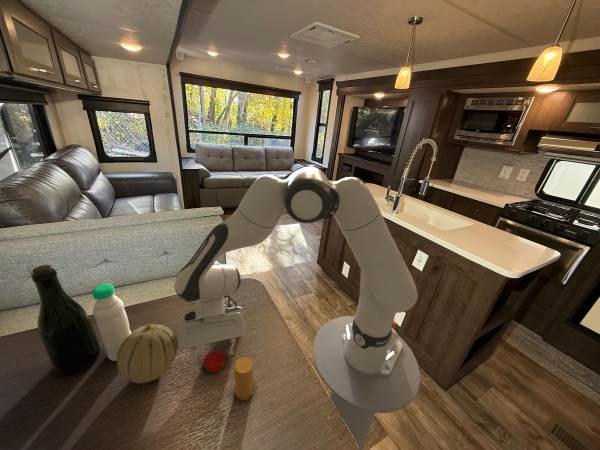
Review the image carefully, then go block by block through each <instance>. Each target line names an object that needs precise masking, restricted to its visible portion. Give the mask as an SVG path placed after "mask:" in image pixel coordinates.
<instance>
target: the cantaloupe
mask: <svg viewBox="0 0 600 450" xmlns="http://www.w3.org/2000/svg"><path fill="white" fill-rule="evenodd" d="M178 350H179V349H178V348H177V335H176V334H175V333H174V332H173V331H172V329H170V327H168V326H166V325H162V324H155V323H153V324H149V323H146V324H145V325H143V326H139V327H138V328H136V329H134V330H133V331H131V334H130V335H129V336H128V337H126V339H125V340H124V341H123V342H122V344H121V346H120V347H119V350H118V353H117V358H116V359H117V361H116V366H117V369H118V372H119V374H120V375H121V376H122V378H123V379H124V380H127V381H130V382H132V383H135V384H145V383H146V384H147V383H149V382H152V381H154V380H157V379H158V378H160V377H161V376H163V374H165V373H166V372H167V371H168V370H169V369H170V368H171V366H172V365H173V363H174V361H175V359H176V356H177V353H178Z"/></svg>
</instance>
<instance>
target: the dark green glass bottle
mask: <svg viewBox="0 0 600 450" xmlns="http://www.w3.org/2000/svg"><path fill="white" fill-rule="evenodd" d="M31 272H32V274H31V281H32V282H33V284H34V285H35V288H36V291H37V293H38V297H39V312H38V317H37V322H36V323H37V324H36V325H37V331H38V334H39V337H40V340H41V343H42V345H43V347H44V350H45V352H46V355H47V357H48V360H49V362H50V363H51V365H52V367H53V370H54V371H55V372H56V374H57V375H59V376H67V377H68V376H73V375H77V374H79V373H81V372H83V371H85V370H87V369H88V368H90V367H91V366H92V365H94V364H95V363H96V361H97V360H98V359H99V357H100V355H101V352H102V348H101V346H100V343H99V339H98V337H97V334H96V332H95V329H94V327H93V325H92V324H93V323H92V322H91V319H90V317H89V315H88V313H87V311H86V309H85V308H84V307H83V305H81V304H80V303H79V302H77V301H76V300H75V299H74V298H72V297H71V296H70V295H69V294H68V293H67V291H66V290H65V289H64V287H63V285H62V283H61V281H60V279H59V276H58V272H57V270H56V269H55V268H53V267H52V266H51V264H43V265H38V266H36V267H34V268H33V269H32V270H31Z"/></svg>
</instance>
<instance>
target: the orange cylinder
mask: <svg viewBox="0 0 600 450" xmlns="http://www.w3.org/2000/svg"><path fill="white" fill-rule="evenodd" d="M253 363H254V362H253V360H252V359H251V358H249V357H245V356H244V357H241V358H239V359H238V360H236V362H235V364H234V370H233V373H234V389H235V390H234V393H235V394H234V395H235V396H236V398H237V399H238V400H240V401H246V400H248V399H249V398H251V397H252V396H253V394H254V364H253Z"/></svg>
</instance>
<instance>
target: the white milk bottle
mask: <svg viewBox="0 0 600 450" xmlns="http://www.w3.org/2000/svg"><path fill="white" fill-rule="evenodd" d="M115 293H116V292H115V287H114V285H113V284H111V283H102V284H99V285H97V286H95V287H94V288H93V289H92V291H91V295H92V297H93V299H94V300H95V303H94V306H93V309H92V315H93V317H94V319H95V323H96V326H97V330H98V333H99V335H100V338H101V340H102V344H103V347H104V349H105V353H106V356H107V359H108V360H110V361H112V362H117V359H116V358H117V353H118V350H119V347H120V346H121V344H122V342H123V341H124V340H125V339H126V337H128V336H129V335H130V334H131V333H132V331H131V329H130V322H129V318H128V315H127V312H126V310H125V304H124V301H123V300H122V299H121V298H119V297H118V296H117V295H116V294H115Z"/></svg>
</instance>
